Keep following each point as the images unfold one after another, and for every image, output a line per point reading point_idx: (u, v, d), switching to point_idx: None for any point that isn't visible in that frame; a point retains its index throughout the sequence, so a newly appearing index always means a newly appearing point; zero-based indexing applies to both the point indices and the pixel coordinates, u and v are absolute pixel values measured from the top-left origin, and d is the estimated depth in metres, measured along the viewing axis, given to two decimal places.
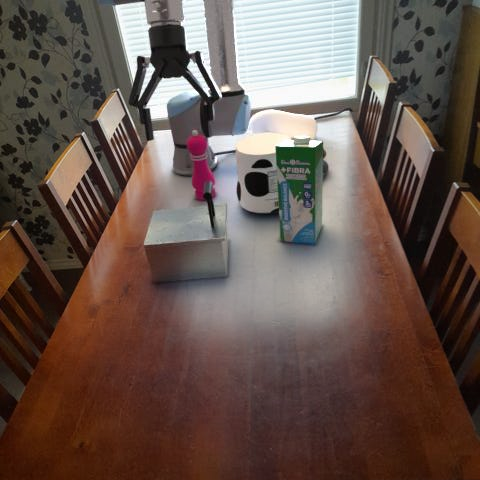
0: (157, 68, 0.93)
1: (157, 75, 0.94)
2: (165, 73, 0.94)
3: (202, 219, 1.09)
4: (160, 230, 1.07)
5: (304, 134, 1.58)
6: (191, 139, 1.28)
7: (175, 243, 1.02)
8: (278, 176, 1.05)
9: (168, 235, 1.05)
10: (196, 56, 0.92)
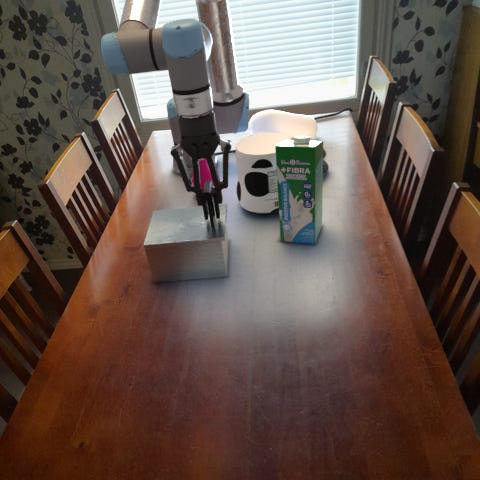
0: (193, 154, 0.95)
1: (196, 160, 0.96)
2: (196, 155, 0.96)
3: (202, 219, 1.09)
4: (160, 230, 1.07)
5: (304, 134, 1.58)
6: None
7: (175, 243, 1.02)
8: (278, 176, 1.05)
9: (168, 235, 1.05)
10: (226, 148, 0.95)
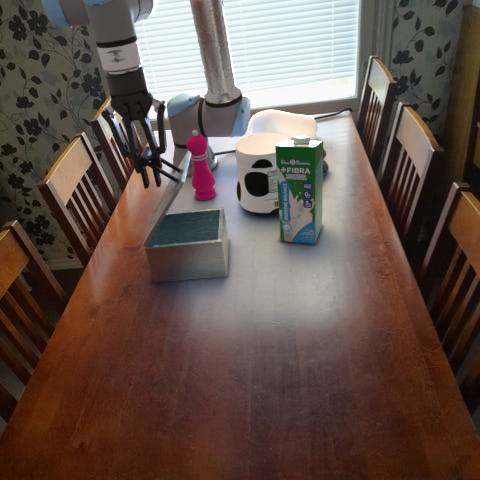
0: (125, 116, 0.90)
1: (129, 121, 0.91)
2: (129, 116, 0.91)
3: (173, 182, 1.02)
4: (151, 222, 1.06)
5: (304, 134, 1.58)
6: (191, 139, 1.28)
7: (157, 222, 0.99)
8: (278, 176, 1.05)
9: (154, 220, 1.02)
10: (159, 108, 0.89)
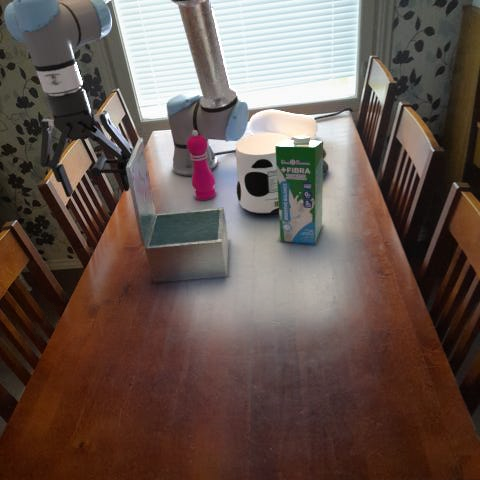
0: (63, 133, 0.92)
1: (65, 139, 0.93)
2: (72, 136, 0.93)
3: None
4: None
5: (304, 134, 1.59)
6: (191, 139, 1.28)
7: (137, 217, 0.98)
8: (278, 176, 1.05)
9: None
10: (101, 120, 0.91)
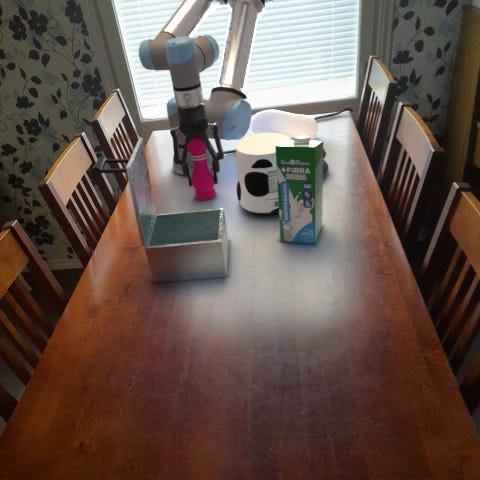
0: (187, 135, 1.27)
1: (188, 140, 1.28)
2: (191, 136, 1.28)
3: None
4: None
5: (304, 134, 1.59)
6: (191, 139, 1.28)
7: (137, 217, 0.98)
8: (278, 176, 1.05)
9: None
10: (214, 128, 1.26)
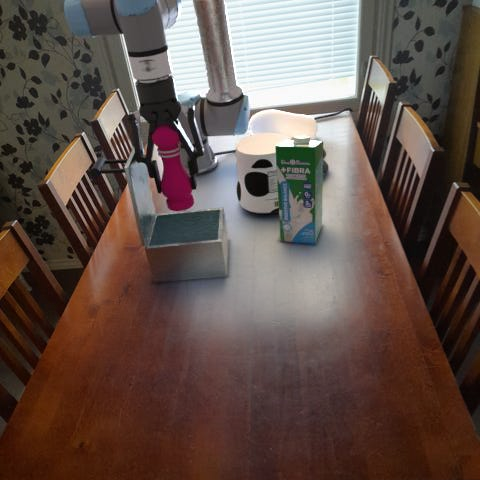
0: (151, 123, 0.91)
1: (154, 129, 0.92)
2: (157, 124, 0.92)
3: None
4: None
5: (304, 134, 1.59)
6: (157, 127, 0.92)
7: (136, 217, 0.98)
8: (278, 176, 1.05)
9: None
10: (189, 112, 0.90)
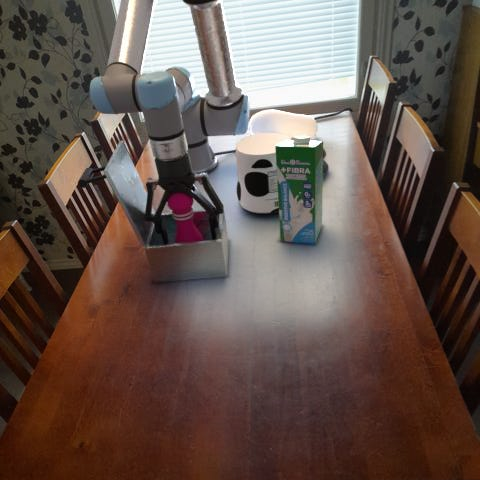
0: (167, 191, 1.01)
1: (168, 197, 1.02)
2: None
3: None
4: None
5: (304, 134, 1.59)
6: (172, 195, 1.02)
7: (129, 219, 0.98)
8: (278, 176, 1.05)
9: None
10: (203, 180, 1.00)
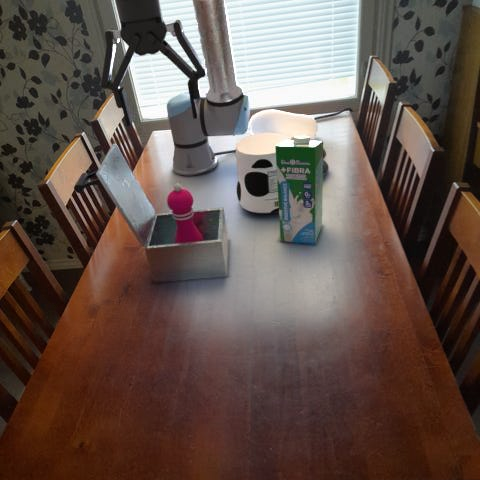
0: (131, 45, 0.82)
1: (132, 53, 0.83)
2: (141, 49, 0.83)
3: None
4: None
5: (304, 134, 1.59)
6: (172, 195, 1.02)
7: (126, 219, 0.99)
8: (278, 176, 1.05)
9: None
10: (175, 29, 0.80)
